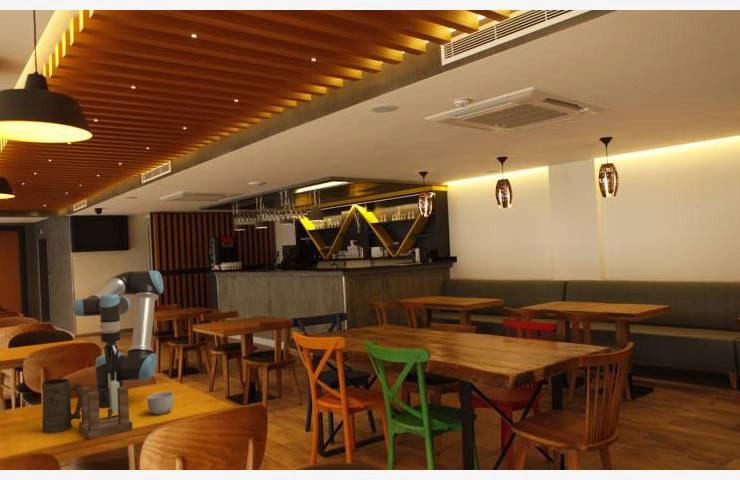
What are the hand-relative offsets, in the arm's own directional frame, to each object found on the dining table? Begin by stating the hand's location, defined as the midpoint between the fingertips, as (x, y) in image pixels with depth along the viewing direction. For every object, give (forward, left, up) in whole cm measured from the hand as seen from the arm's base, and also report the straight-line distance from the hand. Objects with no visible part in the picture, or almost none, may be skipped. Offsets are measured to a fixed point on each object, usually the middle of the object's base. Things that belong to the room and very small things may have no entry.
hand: (112, 387), depth 241 cm
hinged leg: (+3, 0, -10) cm, 10 cm away
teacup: (0, +21, -15) cm, 25 cm away
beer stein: (-7, -17, -15) cm, 24 cm away
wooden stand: (+9, -5, -15) cm, 18 cm away
